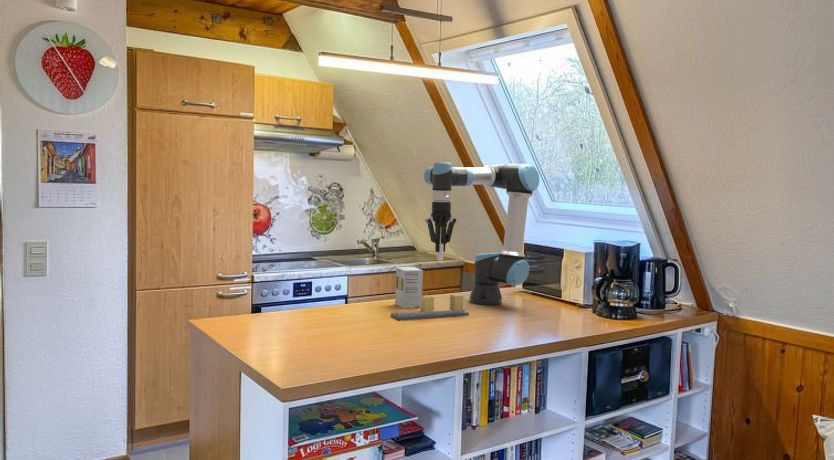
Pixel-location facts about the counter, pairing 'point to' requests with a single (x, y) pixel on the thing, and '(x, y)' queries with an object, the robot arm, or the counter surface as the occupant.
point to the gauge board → (436, 311)
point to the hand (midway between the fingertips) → (439, 259)
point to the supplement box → (408, 287)
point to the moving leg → (427, 303)
